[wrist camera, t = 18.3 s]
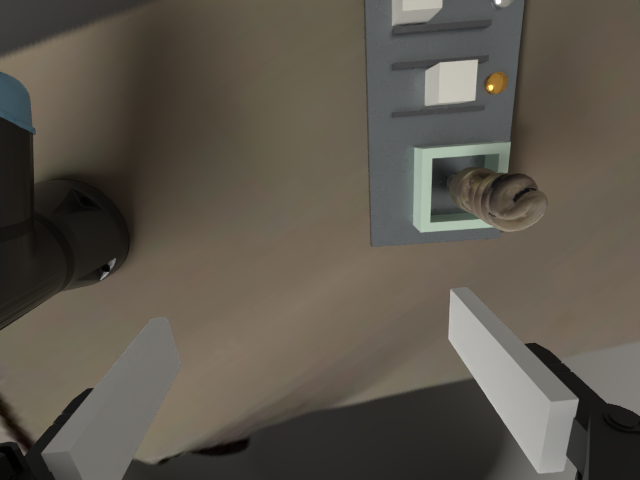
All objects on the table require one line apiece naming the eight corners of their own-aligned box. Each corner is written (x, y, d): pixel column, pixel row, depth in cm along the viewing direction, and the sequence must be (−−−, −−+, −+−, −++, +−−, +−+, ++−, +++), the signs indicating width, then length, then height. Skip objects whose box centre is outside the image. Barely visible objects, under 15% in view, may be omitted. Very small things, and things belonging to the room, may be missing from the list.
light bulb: (483, 181, 44) (568, 202, 30) (454, 213, 45) (522, 248, 31) (454, 154, 43) (527, 162, 28) (425, 187, 44) (481, 211, 30)
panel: (370, 244, 48) (372, 249, 46) (363, -19, 38) (366, -28, 36) (495, 235, 47) (503, 240, 45) (522, -33, 37) (534, -43, 35)
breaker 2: (424, 106, 41) (438, 103, 36) (425, 70, 40) (439, 62, 35) (456, 103, 41) (475, 100, 36) (458, 68, 40) (477, 59, 35)
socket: (413, 225, 46) (420, 232, 42) (414, 147, 42) (422, 148, 39) (488, 219, 45) (502, 226, 42) (495, 141, 42) (510, 142, 39)
